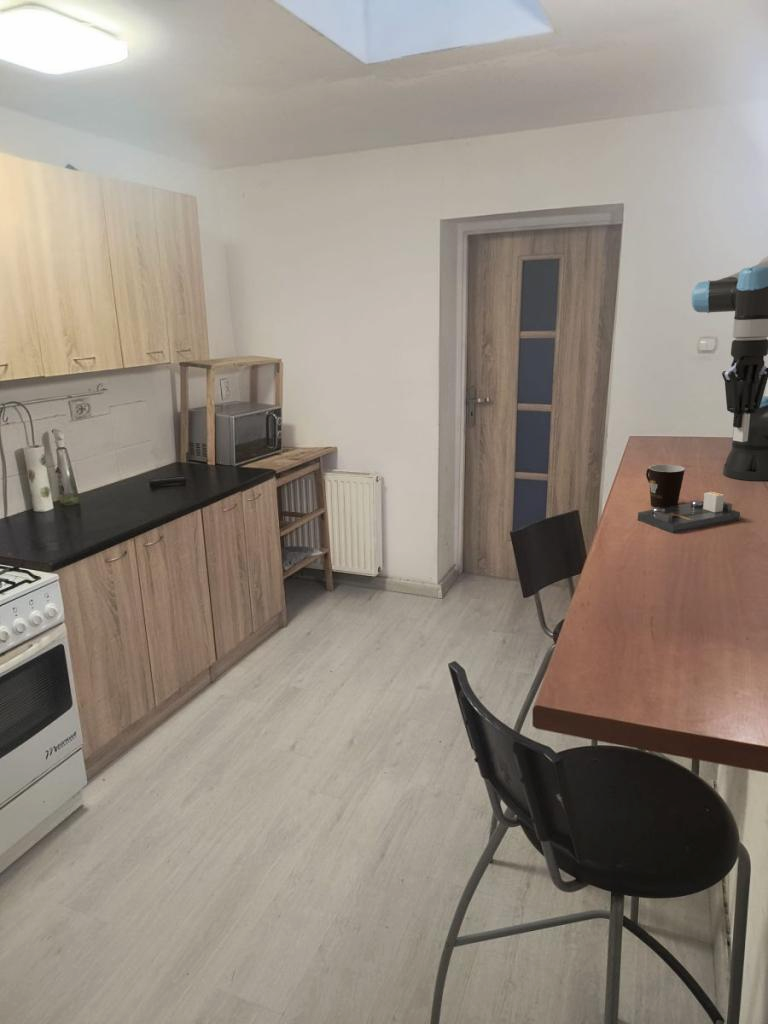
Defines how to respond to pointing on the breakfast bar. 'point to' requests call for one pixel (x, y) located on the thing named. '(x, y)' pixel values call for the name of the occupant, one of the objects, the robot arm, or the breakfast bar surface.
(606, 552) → the breakfast bar surface
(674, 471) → the coffee mug
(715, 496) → the fader knob
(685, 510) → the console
